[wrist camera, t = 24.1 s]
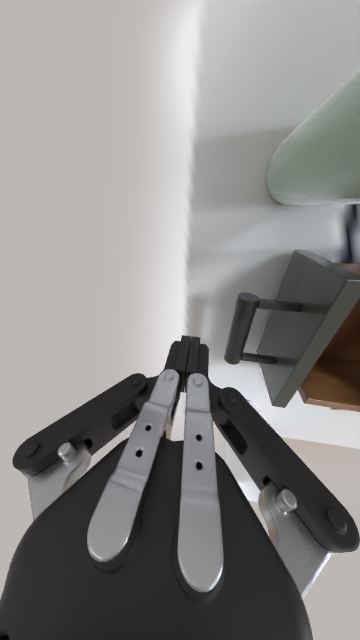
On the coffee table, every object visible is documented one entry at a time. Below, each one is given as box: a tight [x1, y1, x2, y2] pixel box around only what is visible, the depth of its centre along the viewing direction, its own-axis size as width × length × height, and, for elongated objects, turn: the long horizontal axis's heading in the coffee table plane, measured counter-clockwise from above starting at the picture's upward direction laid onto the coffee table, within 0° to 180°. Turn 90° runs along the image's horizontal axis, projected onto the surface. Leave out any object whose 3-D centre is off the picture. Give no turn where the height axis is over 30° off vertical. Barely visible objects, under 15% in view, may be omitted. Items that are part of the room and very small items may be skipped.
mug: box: [224, 400, 270, 502], centre depth 25 cm, size 12×8×11 cm
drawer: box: [224, 250, 360, 412], centre depth 15 cm, size 18×13×7 cm
